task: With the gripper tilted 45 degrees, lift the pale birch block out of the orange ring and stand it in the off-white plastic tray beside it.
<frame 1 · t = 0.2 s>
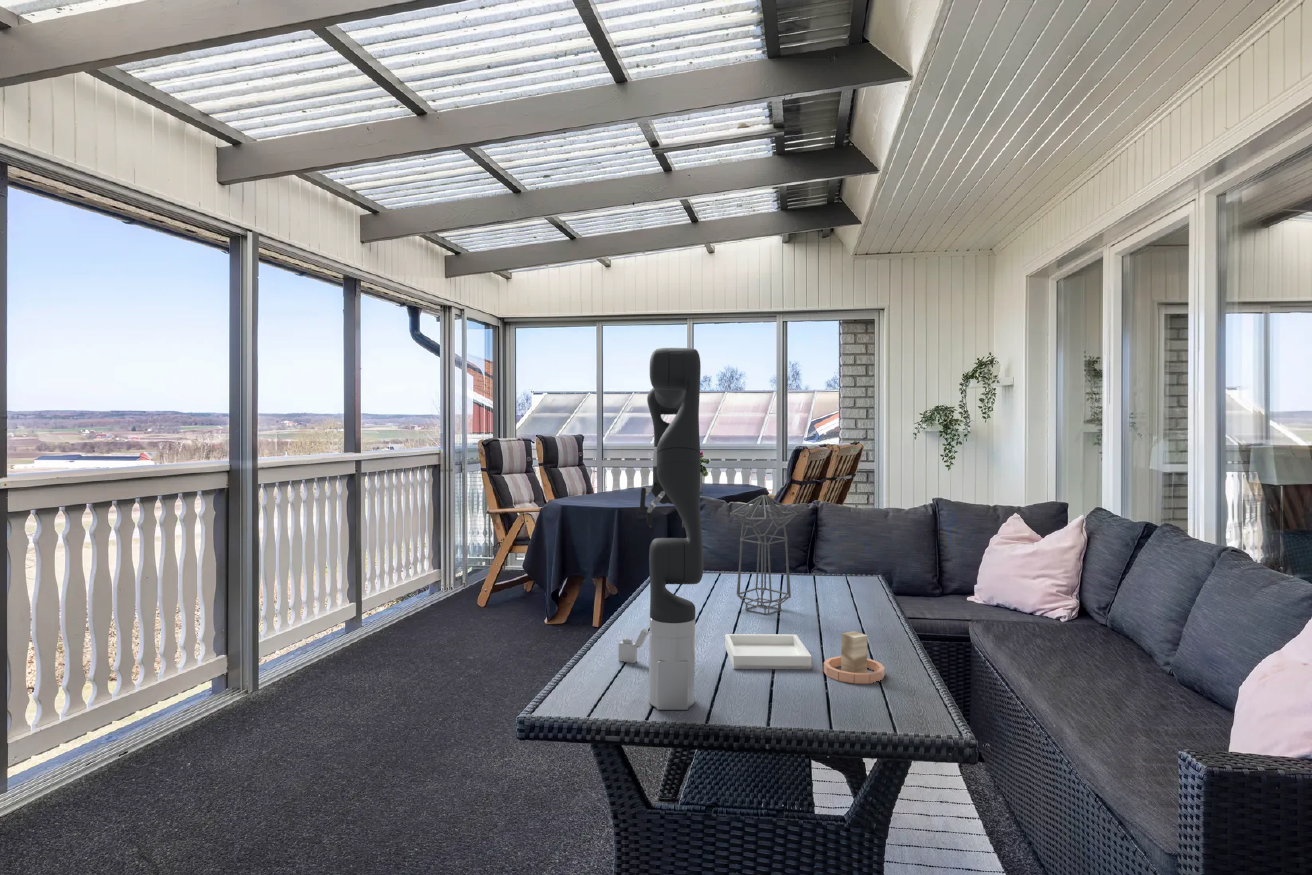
hand: (667, 526, 202), 29 cm above the table, tool pointing down, fingers open, 8 cm apart
geometric lantern: (762, 611, 233), on the table
birch block: (854, 654, 176), in the orange ring
orange ring: (853, 673, 176), on the table
lighter: (633, 662, 183), on the table
tray: (766, 656, 188), on the table
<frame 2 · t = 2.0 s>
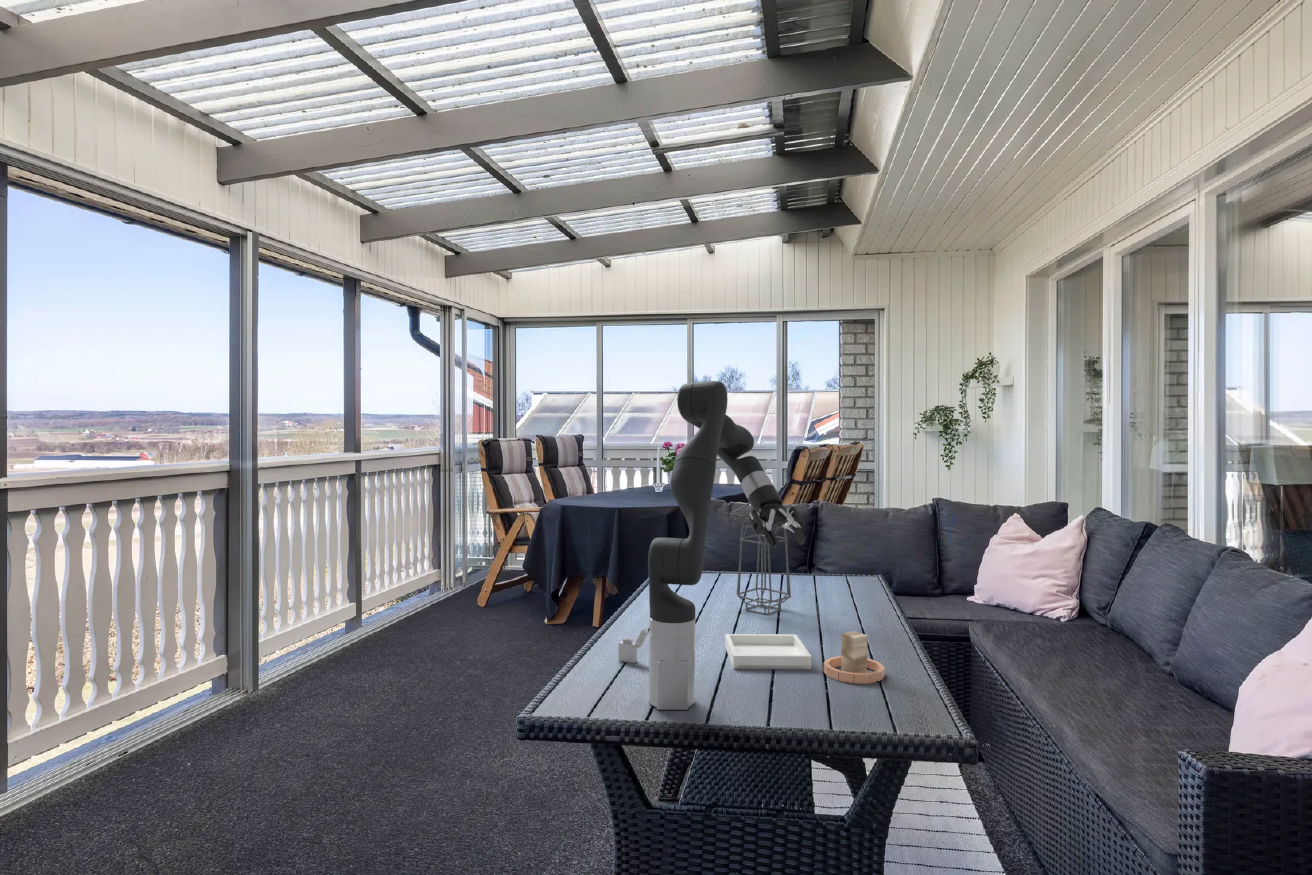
hand: (789, 544, 191), 27 cm above the table, tool tilted 45°, fingers open, 8 cm apart
nothing on the table moved.
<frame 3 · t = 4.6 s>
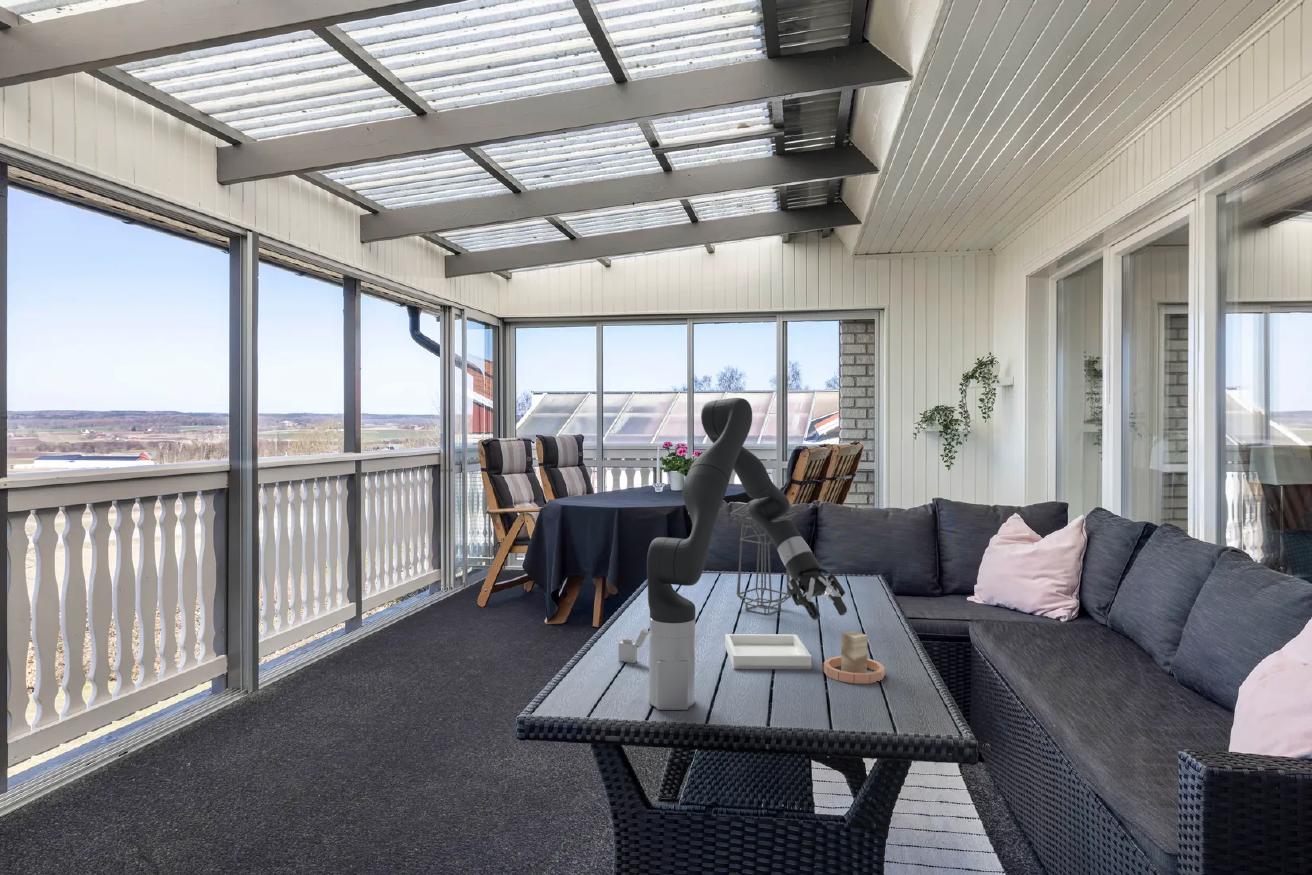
hand: (830, 615, 182), 11 cm above the table, tool tilted 45°, fingers open, 8 cm apart
nothing on the table moved.
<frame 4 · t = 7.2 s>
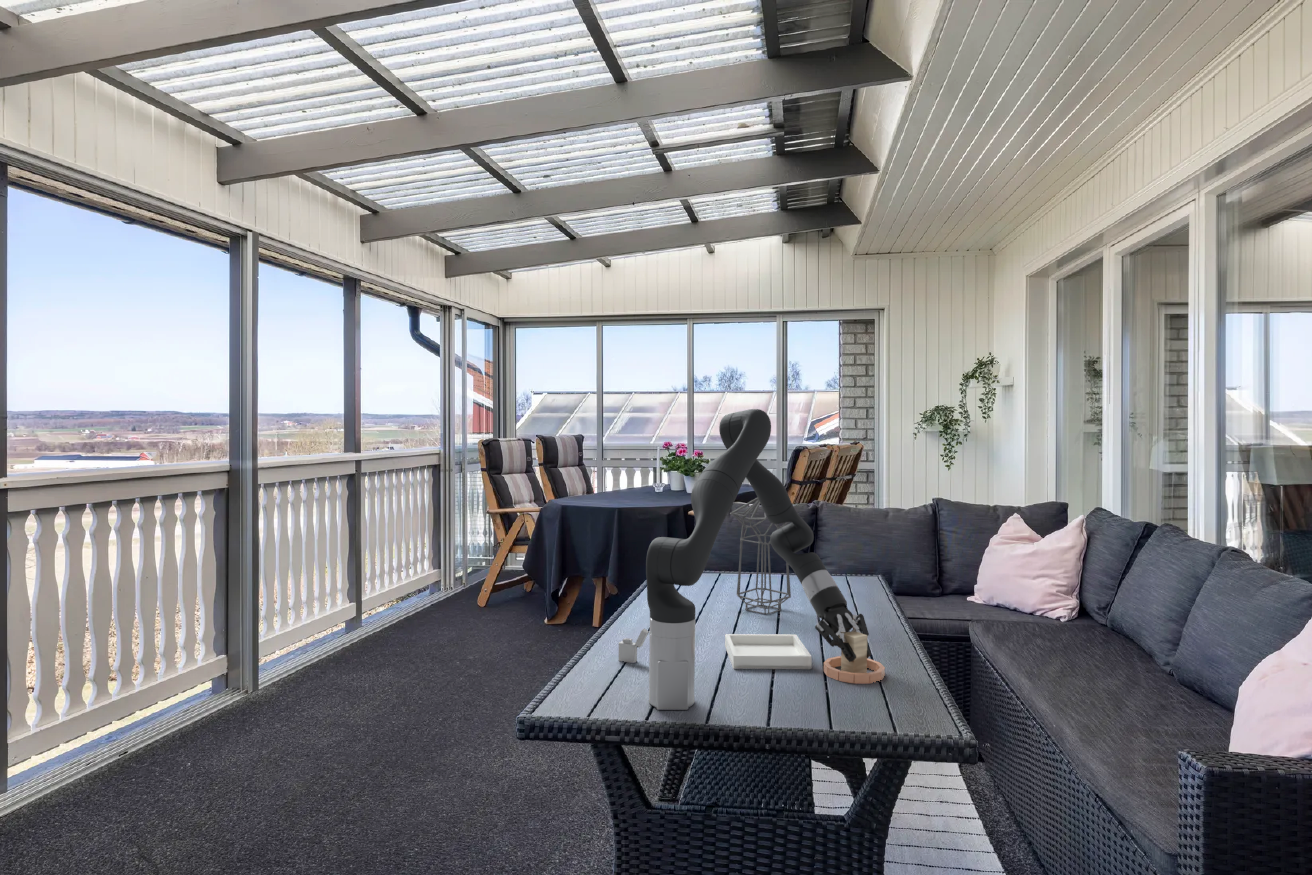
hand: (860, 658, 174), 4 cm above the table, tool tilted 45°, fingers closed on birch block, 4 cm apart
birch block: (854, 653, 176), in the orange ring, touching gripper
everything else where it was.
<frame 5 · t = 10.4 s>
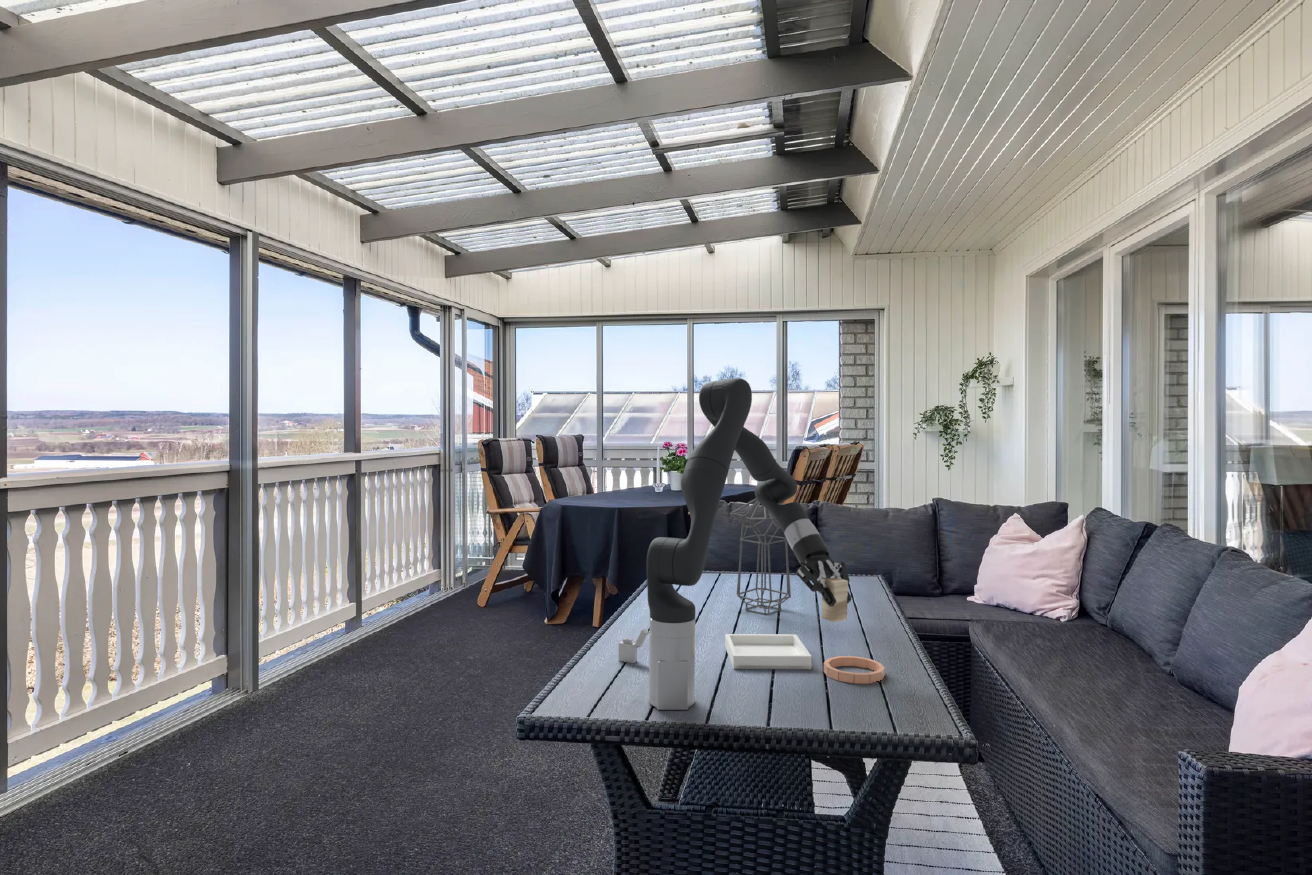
hand: (840, 602, 176), 16 cm above the table, tool tilted 45°, fingers closed on birch block, 4 cm apart
birch block: (834, 599, 178), point 16 cm above the table, touching gripper
everything else where it was.
when the fingers open (6 cm above the table, at t = 13.8 s): birch block drops 1 cm, resting on tray.
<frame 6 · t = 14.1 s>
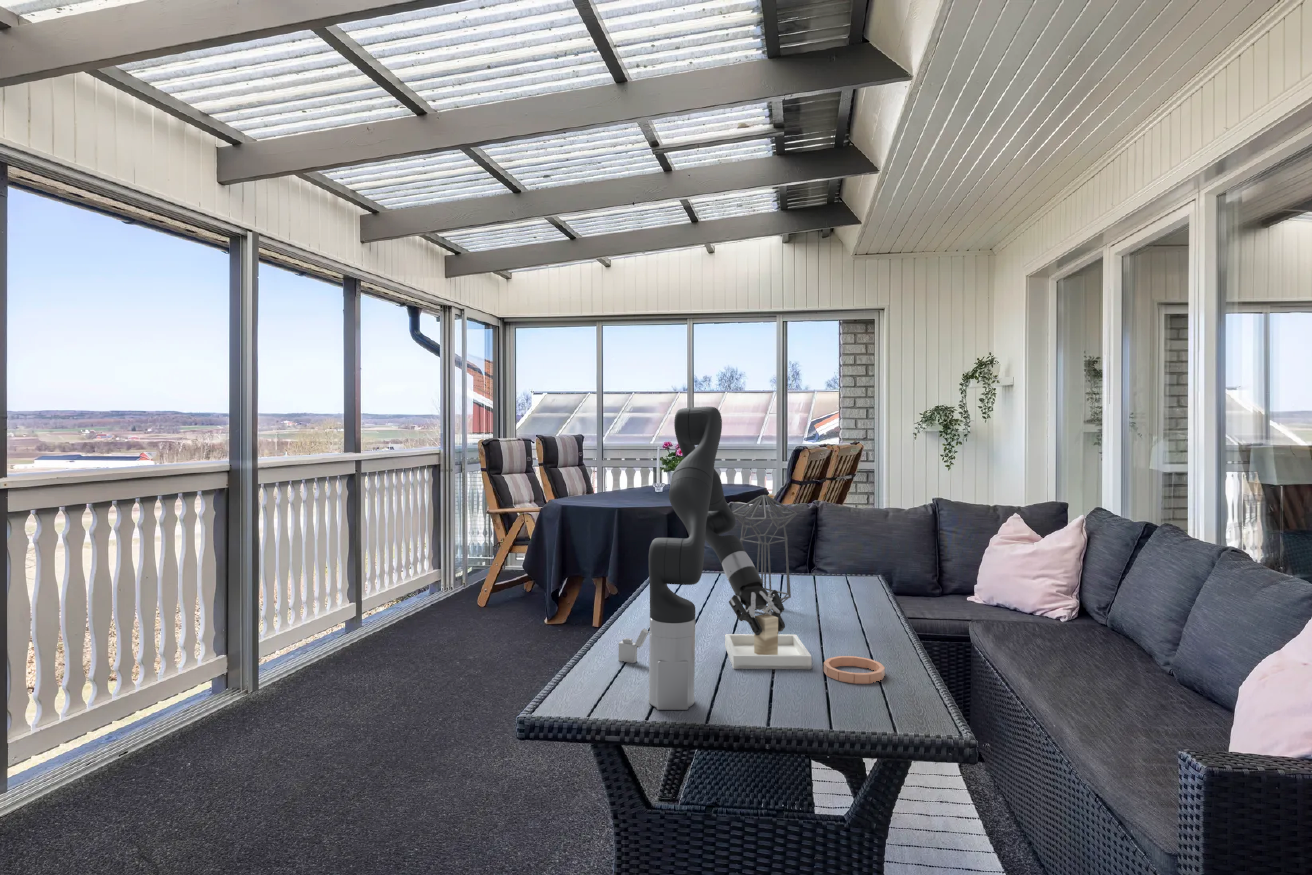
hand: (771, 631, 186), 7 cm above the table, tool tilted 45°, fingers open, 6 cm apart
birch block: (766, 635, 188), in the tray, point 5 cm above the table
everything else where it was.
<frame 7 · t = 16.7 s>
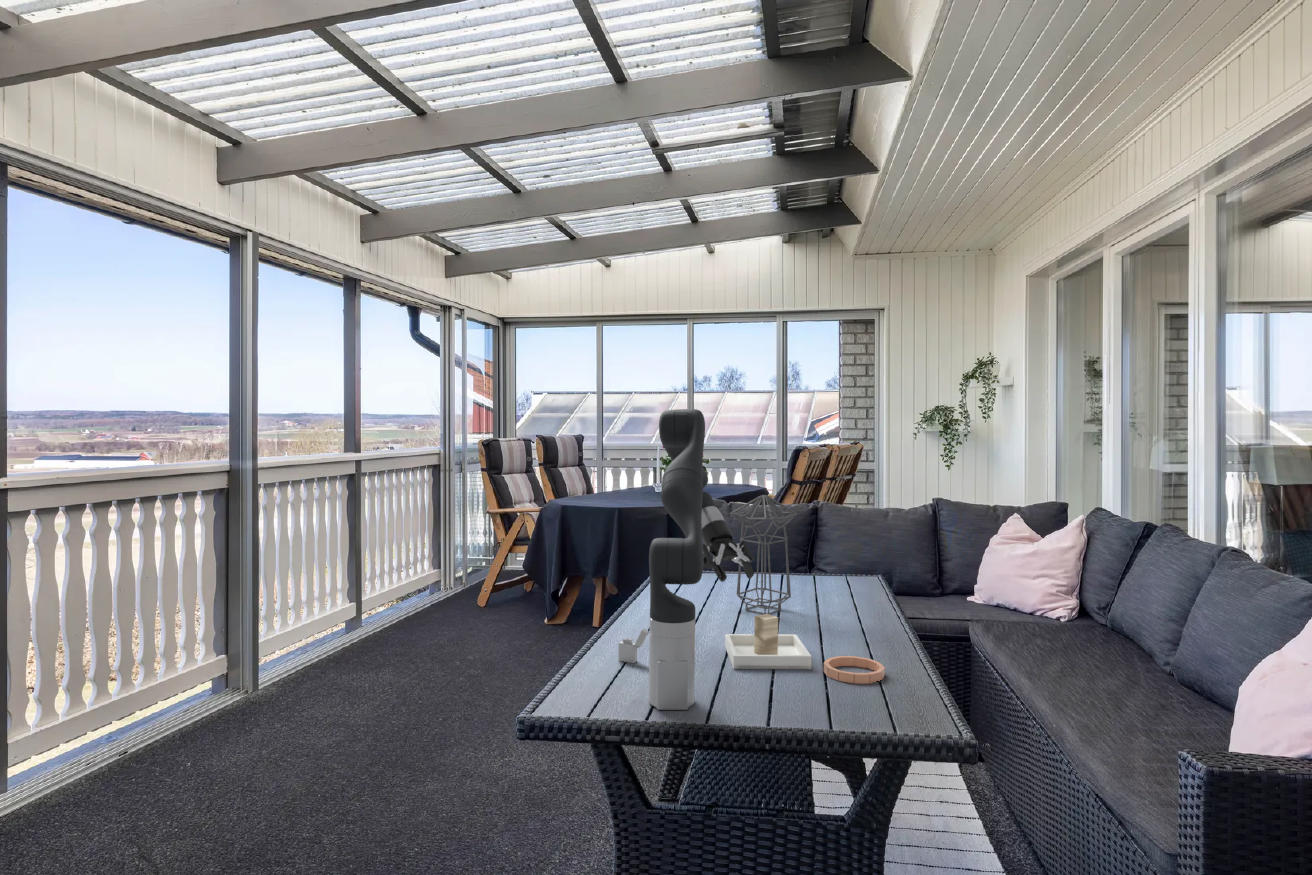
hand: (738, 578, 197), 17 cm above the table, tool tilted 45°, fingers open, 8 cm apart
nothing on the table moved.
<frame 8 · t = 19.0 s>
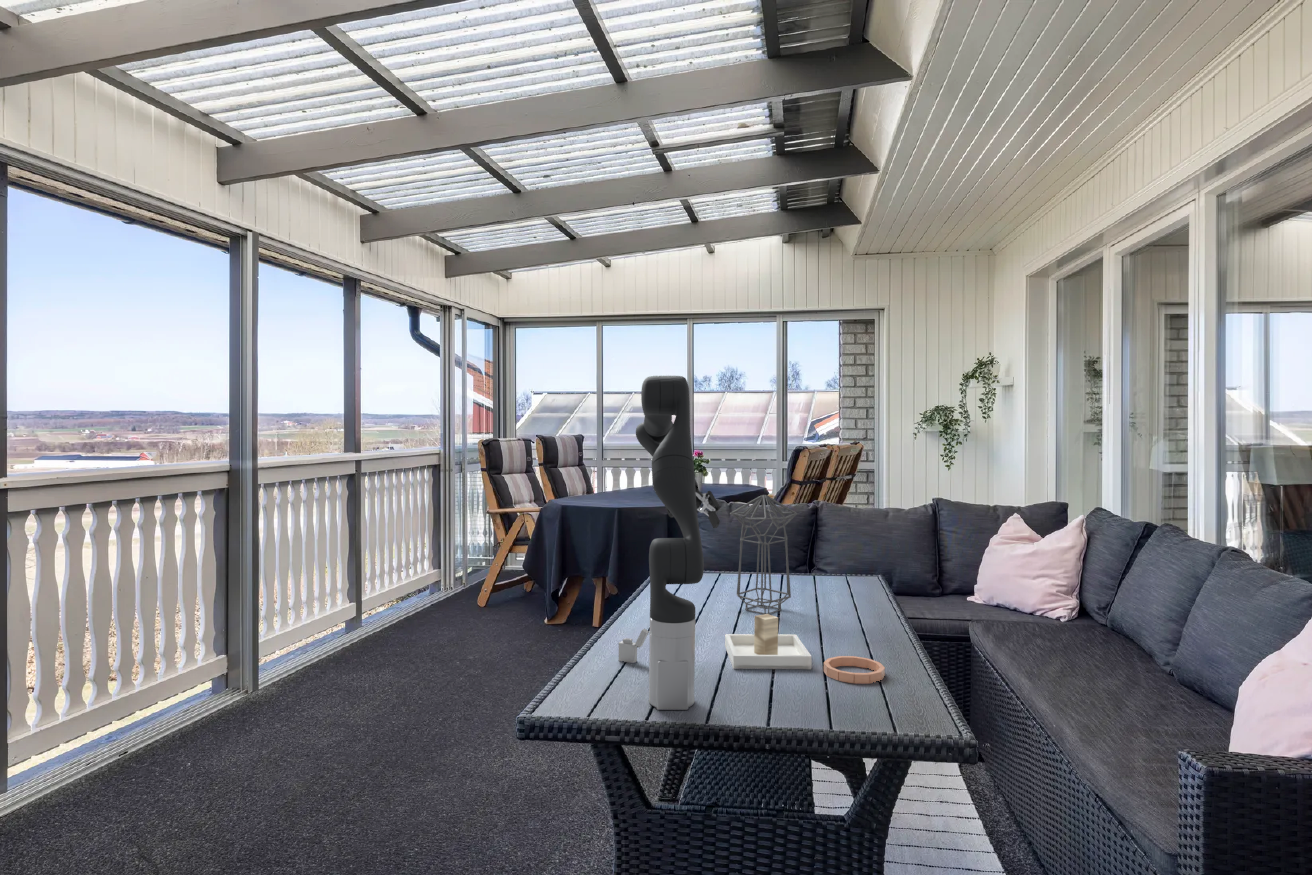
hand: (702, 527, 192), 31 cm above the table, tool tilted 45°, fingers open, 8 cm apart
nothing on the table moved.
at the end: birch block inside the target area on the tray (0.1 cm from its centre), point 5.3 cm above the tray's base; birch block tilted 0°; the gripper is holding nothing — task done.
